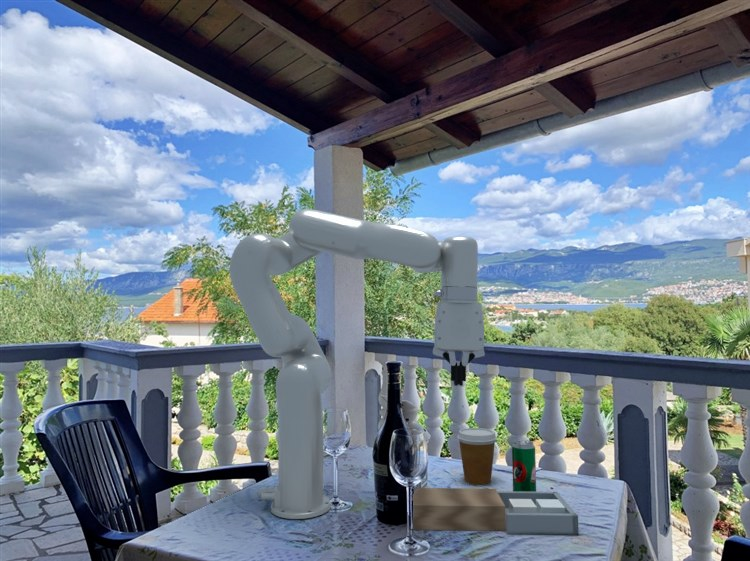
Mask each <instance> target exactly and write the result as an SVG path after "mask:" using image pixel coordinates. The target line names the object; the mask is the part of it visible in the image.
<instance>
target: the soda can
mask: <svg viewBox="0 0 750 561" xmlns="http://www.w3.org/2000/svg"><path fill="white" fill-rule="evenodd" d="M511 458H512V464H511V466H512V470H511V471H512V491H529V492H537V473H536V472H537V469H536V468H537V467H536V466H537V465H536V447H535V445H534V442H533V441H532V440H528V439H515V440H513V444H512V446H511Z"/></svg>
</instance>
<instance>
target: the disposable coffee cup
mask: <svg viewBox="0 0 750 561" xmlns="http://www.w3.org/2000/svg"><path fill="white" fill-rule="evenodd" d="M457 439H458V441H459V451H460V455H461V456H460V457H461V462H462V463H461V464H462V472H463V477H464V483H466V482H467V483H466V484H468V483H469V484H468V485H471V484H472V486H477V485H482V486H488V485H490V484H491V483H492V474H493V465H494V464H493V463H494V454H495V453H494V452H495V443H496V442H497V436H496V432H495V431H494V430H492V429H488V428H481V427H472V428H471V427H469V428H462V429H459V430H458V435H457Z"/></svg>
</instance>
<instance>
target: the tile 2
mask: <svg viewBox="0 0 750 561" xmlns="http://www.w3.org/2000/svg"><path fill="white" fill-rule="evenodd" d="M536 507H537V513H565V507H564V506H563V504H562V503H561V502H560V501H559V500H558V499H536Z"/></svg>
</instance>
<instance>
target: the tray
mask: <svg viewBox="0 0 750 561" xmlns="http://www.w3.org/2000/svg"><path fill="white" fill-rule="evenodd" d="M497 492H498V494H499V496H500V498H501V499H502V501H503V503H504V505H505V516H506V531H505V533H506V534H507V535H531V536H532V535H538V536H539V535H540V536H541V535H542V536H543V535H545V536H546V535H547V536H549V535H551V536H552V535H553V536H579V533H580V532H579V515H578V514H577V513H576V512H575V510H574V509H573V508H572V507H571V506H570V505H569V503H568V502H567V501H566V500H565V499H564V498H563V497H562V496H561V494H560V493H558V491H536V492H529V491H513V490H511V491H509V490H507V491H505V490H498V491H497ZM509 499H531V500H532V501H533V502H534V504H535V505H536V499H558V500H559V501H560V502H561V503H562V504H563V506H564V507H565V513H509Z"/></svg>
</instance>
